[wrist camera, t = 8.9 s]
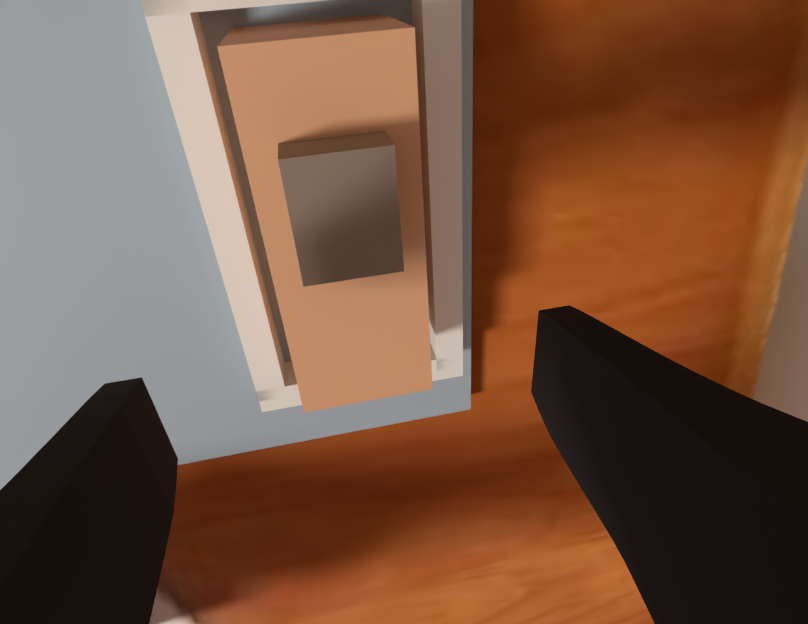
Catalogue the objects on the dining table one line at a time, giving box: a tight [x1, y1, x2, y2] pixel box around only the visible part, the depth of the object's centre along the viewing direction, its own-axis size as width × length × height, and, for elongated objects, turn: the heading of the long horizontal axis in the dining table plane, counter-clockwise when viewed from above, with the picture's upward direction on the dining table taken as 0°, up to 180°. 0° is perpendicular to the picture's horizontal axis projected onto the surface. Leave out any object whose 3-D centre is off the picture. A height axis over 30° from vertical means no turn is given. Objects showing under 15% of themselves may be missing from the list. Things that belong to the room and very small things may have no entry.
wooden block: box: [217, 14, 433, 413], centre depth 15 cm, size 10×4×5 cm, turn 4°
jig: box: [0, 0, 473, 490], centre depth 17 cm, size 18×19×2 cm
